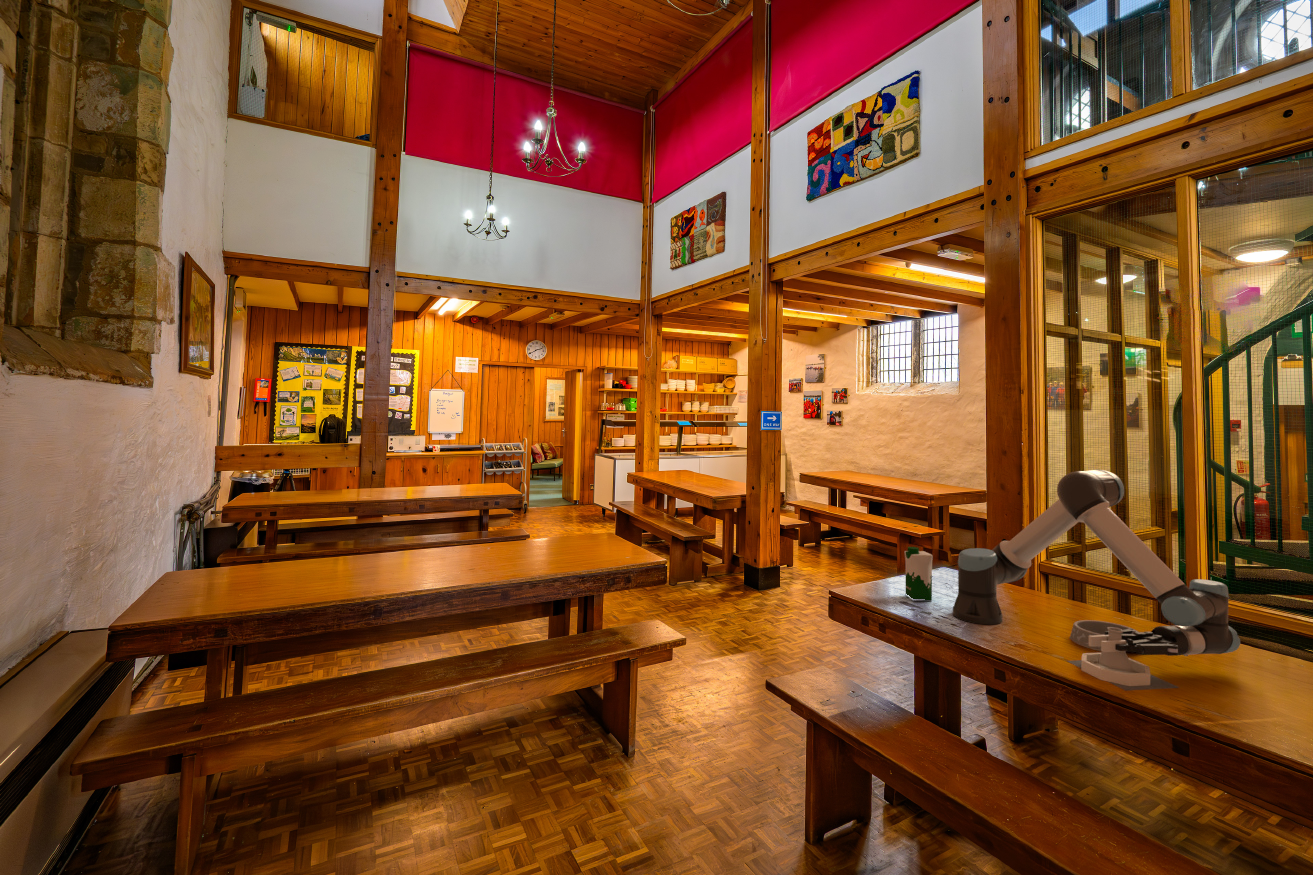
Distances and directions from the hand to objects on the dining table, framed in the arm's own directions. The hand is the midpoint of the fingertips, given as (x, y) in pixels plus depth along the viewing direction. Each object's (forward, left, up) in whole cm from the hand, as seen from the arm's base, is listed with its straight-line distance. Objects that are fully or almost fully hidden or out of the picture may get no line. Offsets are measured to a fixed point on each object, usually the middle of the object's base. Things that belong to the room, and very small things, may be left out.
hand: (1096, 643), depth 148 cm
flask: (0, +5, -6) cm, 8 cm away
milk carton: (-70, -9, -9) cm, 71 cm away
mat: (0, +7, -9) cm, 11 cm away
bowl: (0, +5, -8) cm, 10 cm away
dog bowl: (-20, +22, -9) cm, 31 cm away
